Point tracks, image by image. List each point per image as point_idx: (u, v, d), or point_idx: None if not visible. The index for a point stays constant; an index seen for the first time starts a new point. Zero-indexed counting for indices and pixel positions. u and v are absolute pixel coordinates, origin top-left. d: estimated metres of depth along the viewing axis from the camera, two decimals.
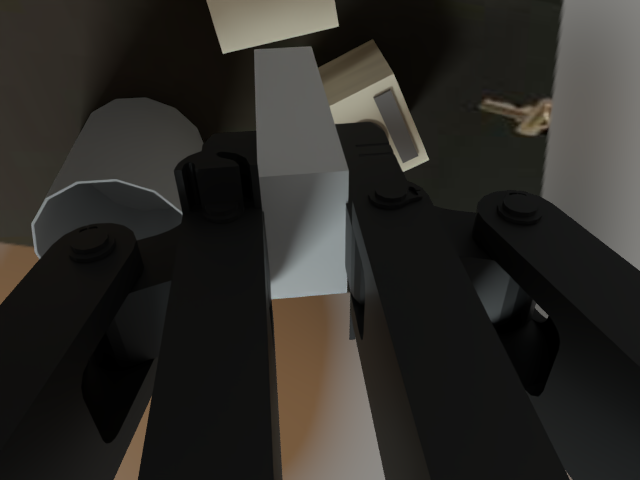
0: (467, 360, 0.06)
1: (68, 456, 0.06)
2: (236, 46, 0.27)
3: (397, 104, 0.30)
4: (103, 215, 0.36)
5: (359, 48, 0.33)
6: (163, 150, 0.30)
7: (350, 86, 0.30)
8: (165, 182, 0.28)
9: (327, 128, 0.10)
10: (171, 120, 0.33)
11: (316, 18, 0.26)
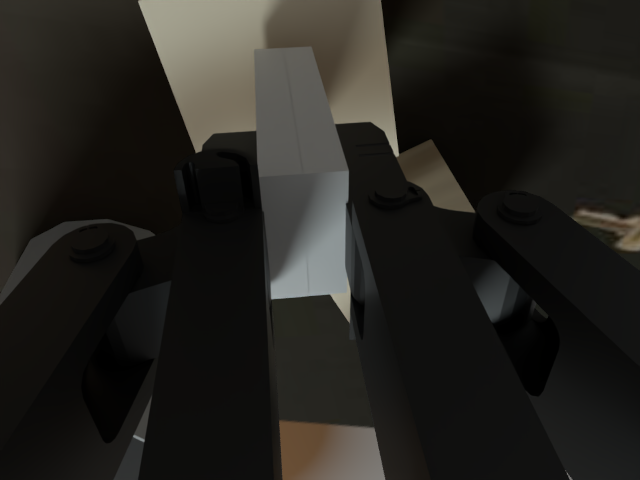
0: (467, 360, 0.06)
1: (68, 456, 0.06)
2: None
3: None
4: None
5: (413, 152, 0.23)
6: None
7: None
8: None
9: (327, 128, 0.10)
10: None
11: None
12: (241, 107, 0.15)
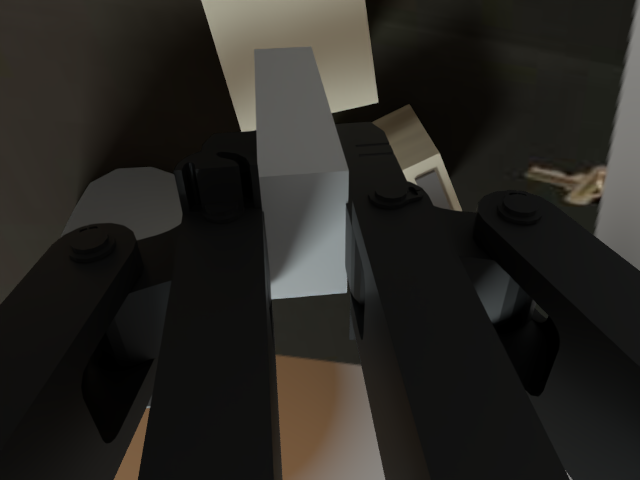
0: (467, 360, 0.06)
1: (68, 456, 0.06)
2: None
3: (442, 186, 0.26)
4: None
5: (394, 114, 0.29)
6: None
7: None
8: None
9: (327, 128, 0.10)
10: None
11: (353, 94, 0.23)
12: None
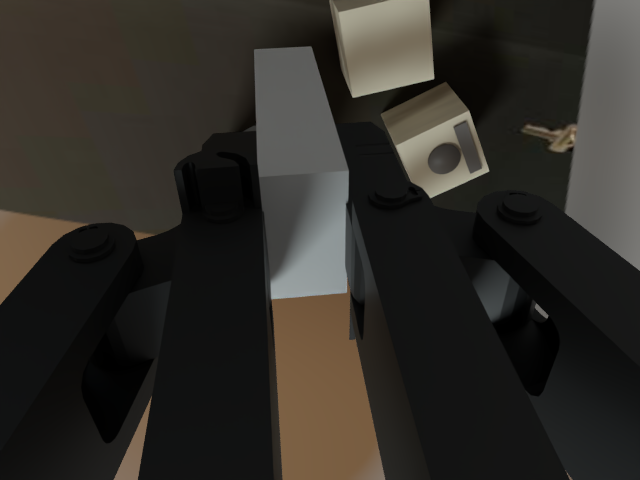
0: (467, 360, 0.06)
1: (68, 456, 0.06)
2: (362, 92, 0.38)
3: (469, 131, 0.41)
4: None
5: (436, 88, 0.45)
6: None
7: (435, 118, 0.42)
8: None
9: (327, 128, 0.10)
10: None
11: (419, 74, 0.38)
12: (370, 55, 0.37)
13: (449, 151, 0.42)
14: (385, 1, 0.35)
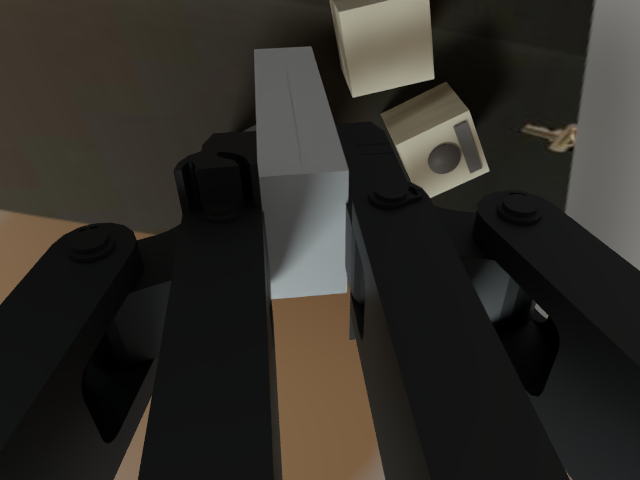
0: (467, 360, 0.06)
1: (68, 456, 0.06)
2: (362, 92, 0.38)
3: (470, 131, 0.41)
4: None
5: (436, 88, 0.45)
6: None
7: (435, 118, 0.42)
8: None
9: (327, 128, 0.10)
10: None
11: (419, 74, 0.38)
12: (370, 55, 0.37)
13: (449, 151, 0.42)
14: (385, 1, 0.35)
